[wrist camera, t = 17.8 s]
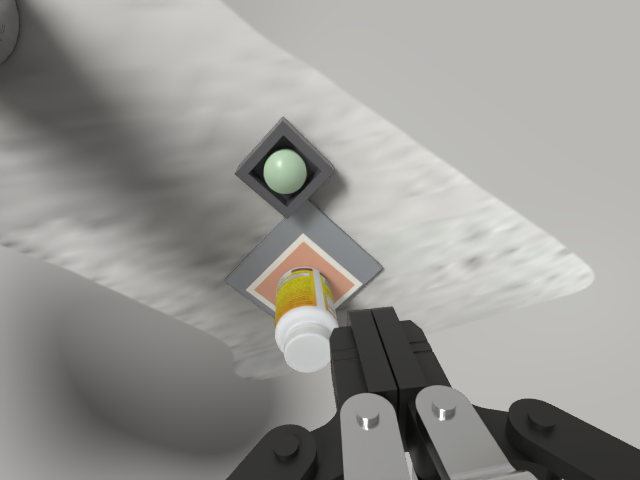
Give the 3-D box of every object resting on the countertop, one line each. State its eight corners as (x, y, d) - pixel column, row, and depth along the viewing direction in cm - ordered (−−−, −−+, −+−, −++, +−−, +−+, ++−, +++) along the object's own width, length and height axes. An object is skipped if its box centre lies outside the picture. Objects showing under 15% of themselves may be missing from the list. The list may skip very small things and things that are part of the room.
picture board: (225, 278, 40) (224, 282, 39) (305, 197, 37) (305, 199, 36) (303, 335, 43) (303, 340, 43) (381, 265, 41) (382, 268, 40)
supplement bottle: (266, 296, 40) (260, 364, 31) (294, 254, 38) (297, 314, 29) (311, 318, 42) (318, 390, 32) (340, 279, 40) (356, 343, 31)
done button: (256, 168, 34) (254, 174, 32) (283, 138, 33) (283, 142, 31) (286, 195, 35) (286, 202, 34) (313, 166, 34) (315, 172, 33)
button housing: (238, 165, 35) (234, 174, 32) (283, 116, 34) (282, 120, 31) (287, 208, 37) (287, 219, 34) (331, 163, 36) (334, 170, 33)
